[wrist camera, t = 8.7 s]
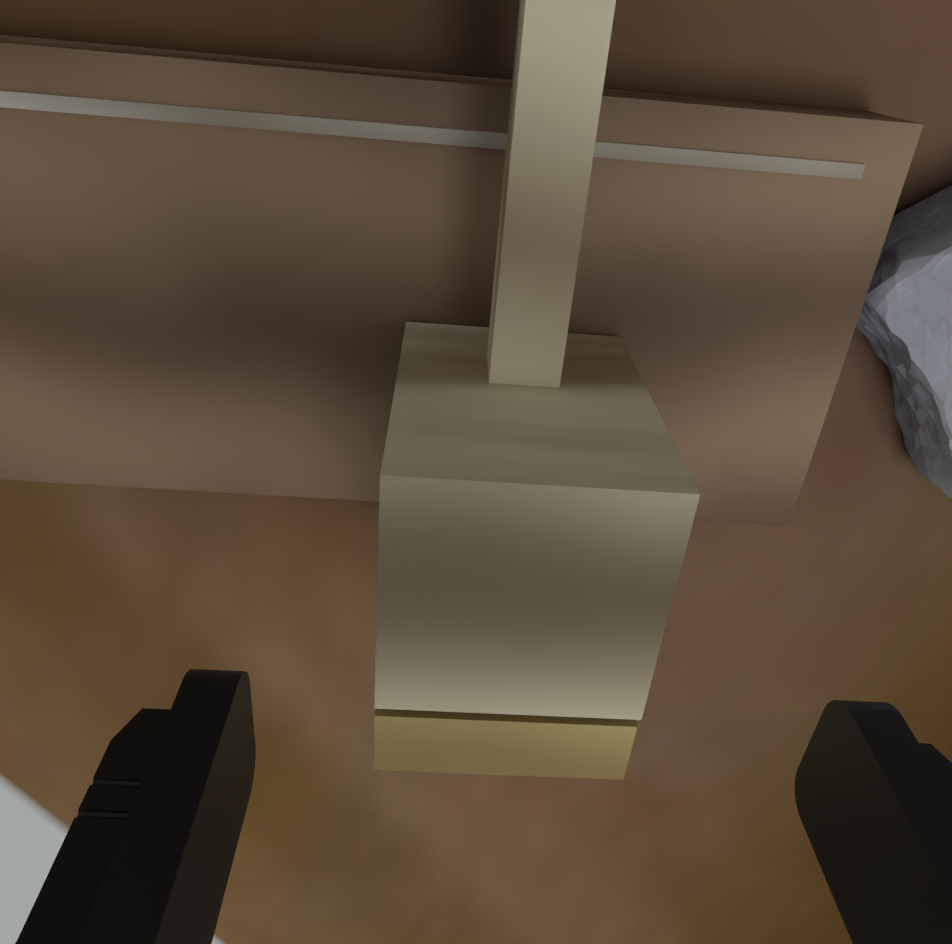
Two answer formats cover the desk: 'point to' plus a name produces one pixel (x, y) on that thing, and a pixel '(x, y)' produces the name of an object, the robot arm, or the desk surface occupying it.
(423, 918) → the desk surface
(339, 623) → the desk surface
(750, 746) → the desk surface
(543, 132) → the wooden mallet
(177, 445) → the board
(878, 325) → the stone block
